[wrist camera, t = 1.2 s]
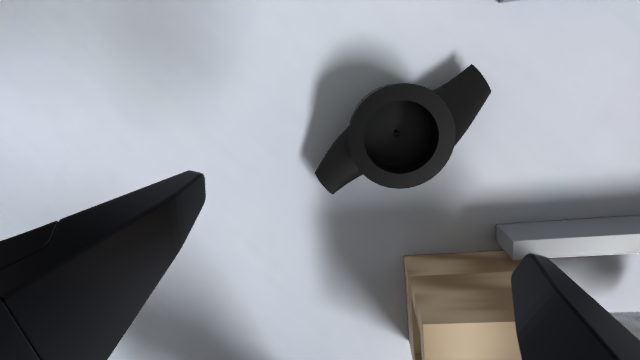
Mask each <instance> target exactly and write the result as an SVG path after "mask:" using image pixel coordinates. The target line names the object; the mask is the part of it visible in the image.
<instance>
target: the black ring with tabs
mask: <svg viewBox="0 0 640 360" xmlns="http://www.w3.org/2000/svg"><path fill="white" fill-rule="evenodd" d="M490 93H491V90H490V87H489V85H488V83H487V82H486V80H485V78H484V77H483V76H482V74H481V73H480V72H479V71H478V69H477V68H476V67H475V66H473V65H472V64H471V65H470V66H469V67H468V68H466V69H465V70H464V71H463V72H461V73H460V74H459V75H458V76H456V77H455V78H453V79H452V80H451V81H449V82H448V83H446V84H445V85H443V86H441V87H440V88H438V89H436V90H434V91H431V90H429V89H427V88H425V87H422V86H419V85H415V84H407V83H402V84H391V85H386V86H383V87H380V88H378V89H376V90H374V91H372V92H371V93H369V94H368V95H367V96H365V97H364V98H363V99H362V100H361V102H360V103H359V104H358V106H357V107H356V109H355V111H354V113H353V115H352V118H351V121H350V126H349V127H348V128H347V129H346V130H344V131H343V132H342V134H341V135H340V136H339V137H338V138H337V139H336V141H335V142H334V143H333V145H332V146H331V148H330V149H329V150H328V152H327V154H326V155H325V157H324V158H323V160H322V162H321V163H320V165H319V167H318V168H317V170H316V172H315V174H316V176H317V178H318V179H319V181H320V182H321V184H322V185H323V186H324V187H325V188H326V189H327V190H328V191H329V192H330V193H331V194H334V193H335V192H336V191H338V190H339V189H340V188H342V187H343V186H344V185H346V184H347V183H349V182H350V181H352V180H354V179H355V178H357V177H359V176H361V175H362V174H364V175H365V176H366V177H367V178H368V179H370V180H371V181H373V182H375V183H377V184H379V185H382V186H385V187H389V188H410V187H414V186H417V185H420V184H422V183H424V182H426V181H428V180H430V179H431V178H433V177H434V176H435V175H436V174H438V173H439V172H440V171H441V169H442V168H443V167H444V166H445V164H446V163H447V161H448V160H449V158H450V156H451V154H452V151H453V148H454V146H455V145H456V144H457V142H458V141H459V140H460V139H461V137H462V136H463V135H464V133H465V132H466V130H467V129H468V128H469V126H470V125H471V123H472V122H473V120H474V118H475V117H476V115H477V114H478V112H479V111H480V109H481V107H482V106H483V104H484V103H485V101H486V99H487V98H488V96H489V95H490ZM396 129H398V130H399V134H398V135H396V136H395V135H393V131H394V130H396Z"/></svg>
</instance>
